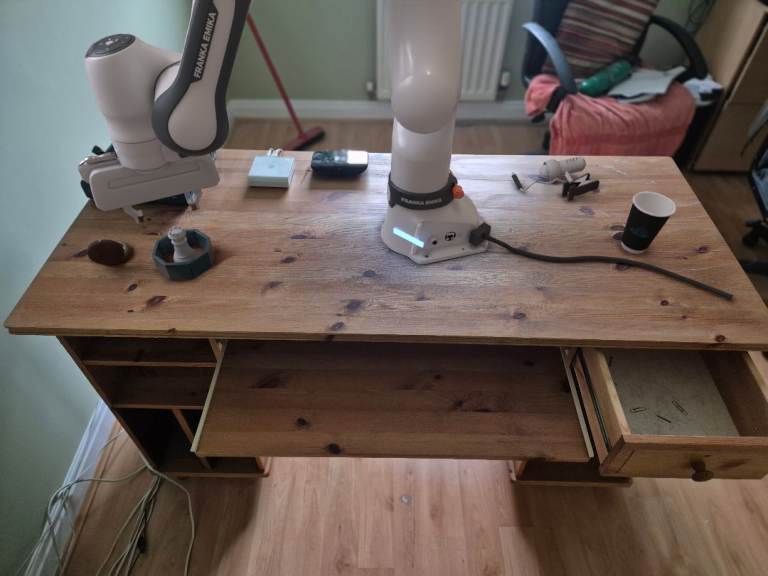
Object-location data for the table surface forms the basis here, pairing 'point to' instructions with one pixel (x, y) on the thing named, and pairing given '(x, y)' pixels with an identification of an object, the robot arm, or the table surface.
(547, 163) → the clip-on lamp
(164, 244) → the octagonal bangle
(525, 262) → the table surface
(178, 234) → the rook chess piece
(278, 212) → the table surface
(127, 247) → the dark brown rounded lump
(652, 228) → the dixie cup
